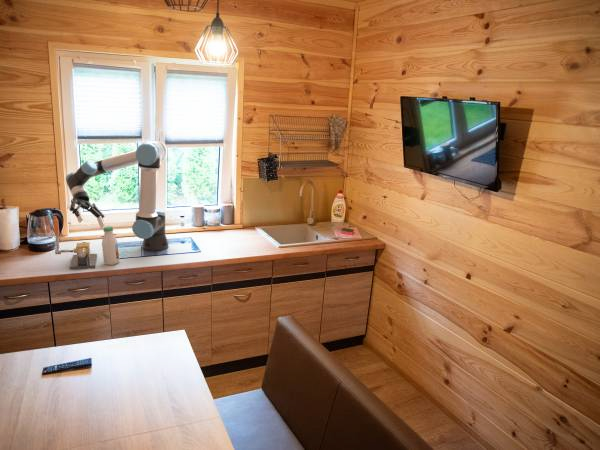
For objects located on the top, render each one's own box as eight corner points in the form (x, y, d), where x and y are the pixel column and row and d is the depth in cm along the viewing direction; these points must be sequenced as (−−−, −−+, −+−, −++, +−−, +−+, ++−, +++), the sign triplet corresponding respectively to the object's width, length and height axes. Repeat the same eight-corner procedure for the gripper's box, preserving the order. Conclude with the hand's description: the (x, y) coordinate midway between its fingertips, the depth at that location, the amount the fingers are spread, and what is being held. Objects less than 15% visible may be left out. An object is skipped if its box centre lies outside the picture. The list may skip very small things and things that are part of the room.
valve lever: (73, 252, 247) (71, 219, 242) (72, 254, 244) (70, 220, 239) (56, 253, 244) (53, 219, 239) (55, 255, 241) (52, 221, 236)
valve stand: (97, 256, 259) (96, 238, 256) (95, 268, 242) (94, 249, 239) (73, 257, 255) (72, 239, 252) (69, 269, 238) (68, 250, 235)
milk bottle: (113, 265, 246) (110, 230, 241) (101, 264, 248) (97, 228, 242) (122, 260, 254) (118, 225, 248) (109, 259, 255) (106, 224, 249)
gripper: (95, 205, 267) (107, 232, 257) (55, 194, 245) (66, 223, 236) (103, 197, 265) (115, 224, 255) (63, 184, 243) (75, 213, 234)
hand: (92, 223), depth 245 cm, fingers open, 13 cm apart
